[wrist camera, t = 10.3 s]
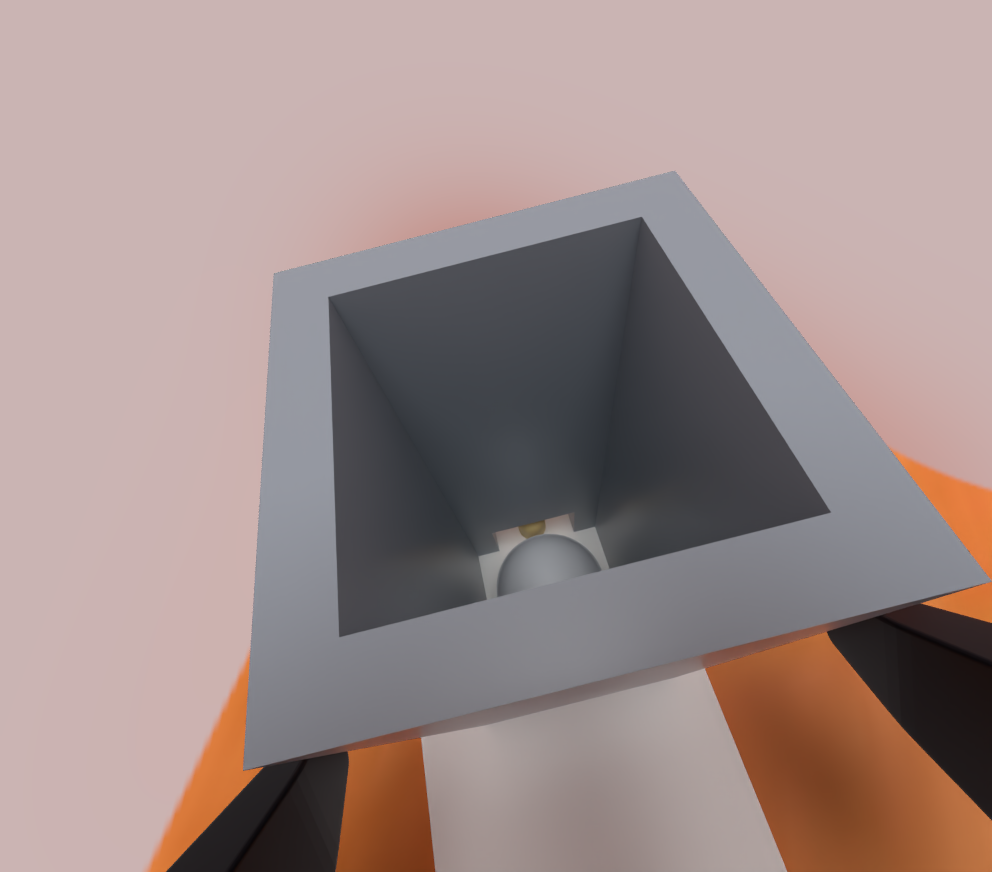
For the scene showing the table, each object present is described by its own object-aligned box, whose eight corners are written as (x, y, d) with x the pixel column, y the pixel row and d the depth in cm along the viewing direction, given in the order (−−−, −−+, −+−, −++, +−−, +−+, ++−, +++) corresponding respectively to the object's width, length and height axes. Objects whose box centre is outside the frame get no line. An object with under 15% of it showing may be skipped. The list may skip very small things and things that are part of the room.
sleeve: (674, 677, 14) (992, 581, 4) (485, 725, 14) (243, 770, 4) (608, 501, 17) (674, 170, 7) (453, 541, 17) (273, 273, 7)
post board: (887, 1165, 10) (1128, 1507, 6) (495, 1262, 10) (441, 1675, 6) (612, 467, 20) (626, 396, 15) (407, 519, 20) (360, 463, 15)
